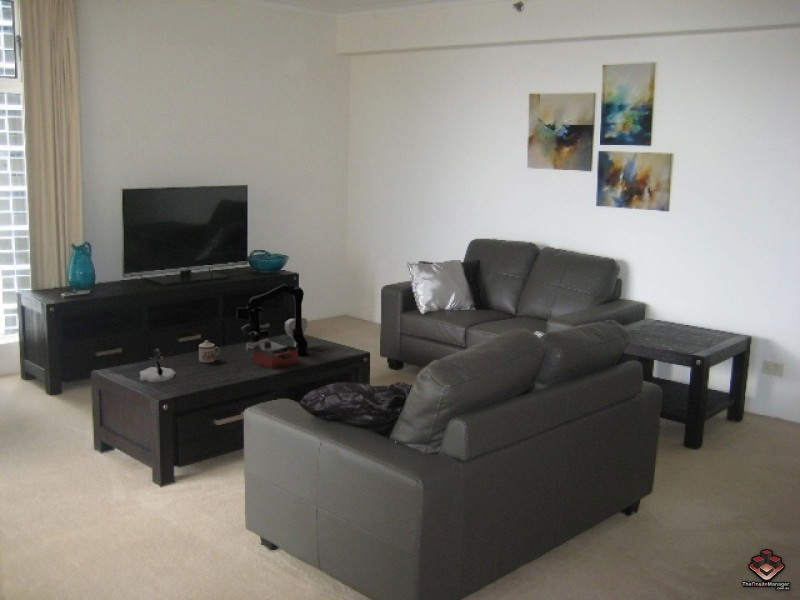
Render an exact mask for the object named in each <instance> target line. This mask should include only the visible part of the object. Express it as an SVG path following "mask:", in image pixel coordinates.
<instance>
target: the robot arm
mask: <svg viewBox="0 0 800 600" xmlns="http://www.w3.org/2000/svg"><path fill="white" fill-rule="evenodd" d="M283 293H286V294H290V295H291V296H292V297H293V301H294V319H295V327H294V329H292V337H293V338H292V337H291V338H292V339H293V342H294V341H295V342H297V343H298V344H296V347H297V348H298V357H304V356H308V355H310V353H308V340H307V338H306V337H304V334H303V331H302V318H303V317H302V316H303V314H302V312H303V309H302V304H303V300H304V294H305V293H304V290H303V289H302V287H300V286H293V285H289V284H285V283H283V284H280V285H279V286H277V287H274V288H273V289H271V290H269V291H267V292H265V293H263V294H259V295H258V294H257V295H255V296H254V295H253V296H252V297H250V299H249V301H248V302H249V303H248V304H247V305H246V307H236V320H238V321H239V320H242V321H243V320H247V319H248V318H249V320H248V321H247V324H245V325H243V326H241V328H240V331H241V333H242V334H245V335H249V336H250V337H251V340H252V341H251V342H256V341H260V339H261V338H262V337H267V336H269V335H270V331H269V330H267V329H262V327H261V323H262V320H261V313H262V312H264V309H263V308H262V307H261V306H262V305H263V304H265V303H266V302H267V301H269V300H270V299H273V298H274V297H277V296H279V295H281V294H283Z"/></svg>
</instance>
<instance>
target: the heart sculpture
mask: <svg viewBox="0 0 800 600" xmlns="http://www.w3.org/2000/svg"><path fill="white" fill-rule="evenodd" d="M294 327H295V318H289V319H287V320H286V321H285V322H284V331H285V333H286V334H287V335H288V336H289V337H290V338H292V339H294V338H293V337H292V329H294ZM307 327H308V319H307V318H306V317H302V331H303V335H304V333H306V330H307ZM296 344H298V343H297V342H295V341H294V340H293V346H294V347H296Z"/></svg>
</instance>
